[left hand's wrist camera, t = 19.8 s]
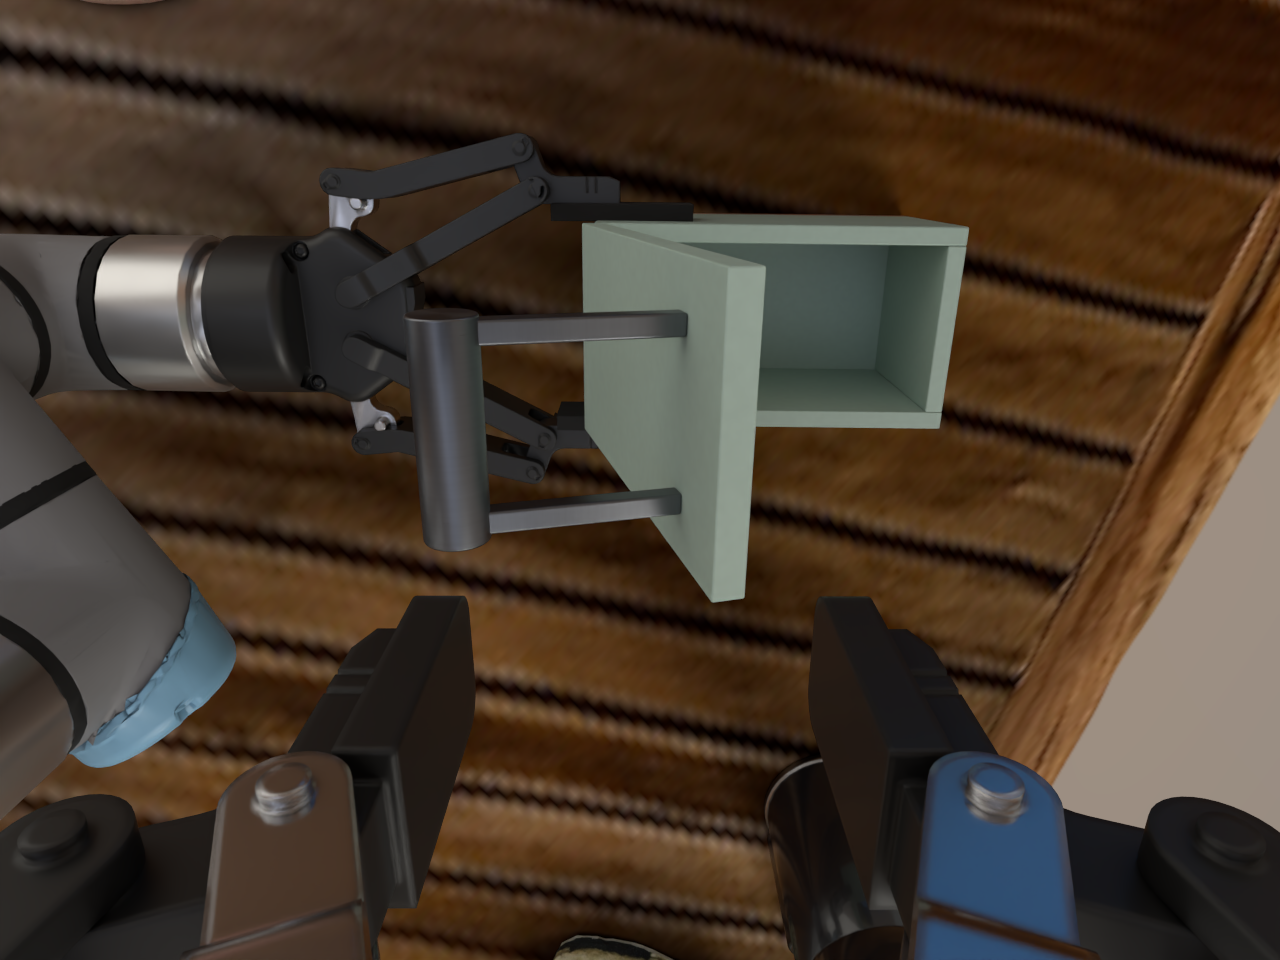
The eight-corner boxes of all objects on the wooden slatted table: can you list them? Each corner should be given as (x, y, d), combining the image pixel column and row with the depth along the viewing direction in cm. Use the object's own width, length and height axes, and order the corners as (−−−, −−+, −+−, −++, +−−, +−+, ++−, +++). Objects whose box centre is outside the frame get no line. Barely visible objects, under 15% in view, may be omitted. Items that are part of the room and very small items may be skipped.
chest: (903, 215, 45) (970, 226, 36) (882, 379, 48) (939, 428, 39) (603, 211, 45) (593, 222, 36) (603, 376, 48) (595, 424, 39)
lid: (767, 265, 20) (397, 272, 18) (744, 599, 23) (432, 641, 21) (604, 222, 35) (396, 223, 33) (605, 427, 39) (416, 441, 36)
